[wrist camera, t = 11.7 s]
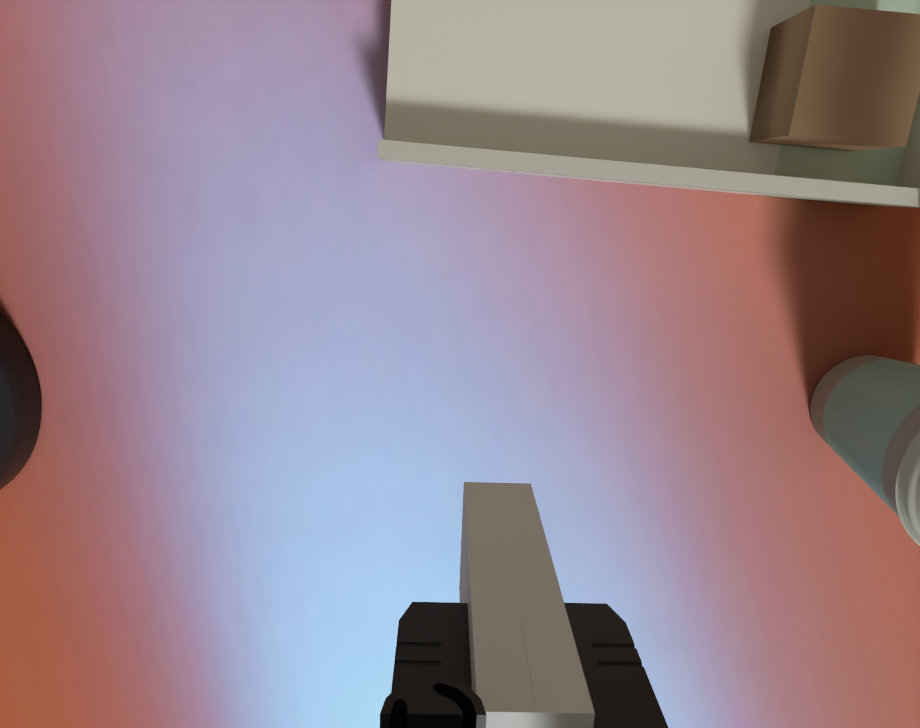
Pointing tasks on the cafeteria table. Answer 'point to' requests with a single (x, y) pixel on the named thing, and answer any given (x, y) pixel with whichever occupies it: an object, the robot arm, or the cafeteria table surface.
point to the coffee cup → (875, 428)
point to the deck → (616, 97)
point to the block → (839, 80)
